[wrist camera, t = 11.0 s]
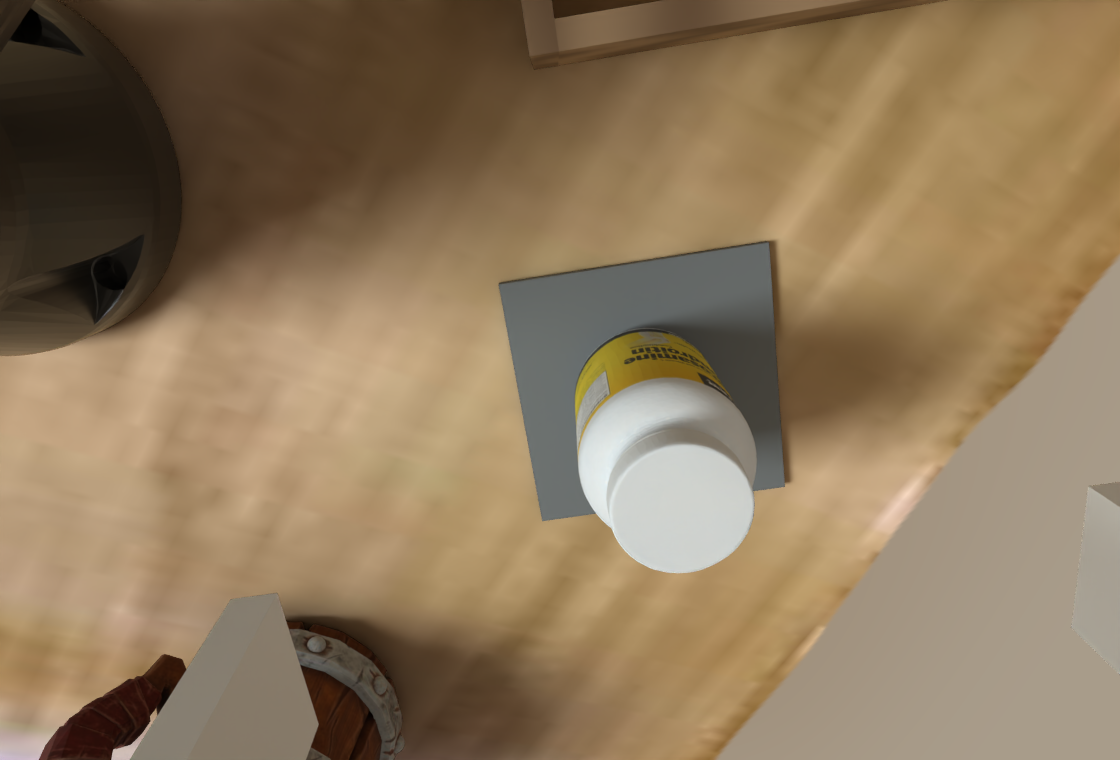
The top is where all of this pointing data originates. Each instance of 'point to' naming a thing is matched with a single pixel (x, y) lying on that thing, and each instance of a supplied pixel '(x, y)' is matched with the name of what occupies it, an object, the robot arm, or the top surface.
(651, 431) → the pill bottle
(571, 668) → the top surface
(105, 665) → the top surface
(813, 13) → the box frame
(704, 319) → the slate mat
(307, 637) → the mug
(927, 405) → the top surface
